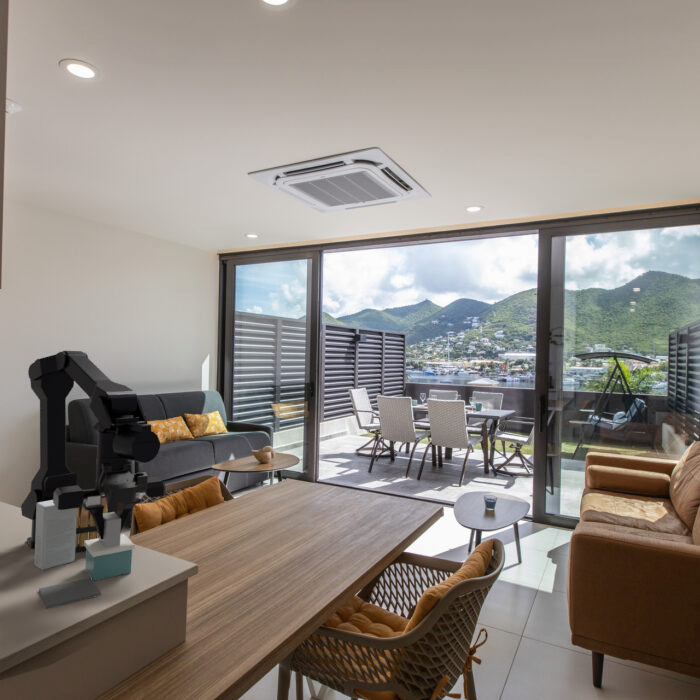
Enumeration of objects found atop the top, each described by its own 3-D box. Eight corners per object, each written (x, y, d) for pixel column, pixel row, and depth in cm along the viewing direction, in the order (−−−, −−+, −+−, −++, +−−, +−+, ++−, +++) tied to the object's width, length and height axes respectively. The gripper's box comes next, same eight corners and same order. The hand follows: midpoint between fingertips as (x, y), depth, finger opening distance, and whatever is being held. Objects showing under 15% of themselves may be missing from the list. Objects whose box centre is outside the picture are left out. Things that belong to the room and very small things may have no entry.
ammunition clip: (48, 557, 101) (51, 497, 101) (48, 553, 102) (51, 494, 103) (107, 548, 106) (109, 492, 106) (106, 545, 108) (109, 489, 108)
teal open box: (85, 568, 96) (86, 545, 96) (121, 561, 100) (122, 538, 100) (93, 581, 91) (94, 556, 91) (130, 572, 95) (132, 548, 95)
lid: (84, 544, 96) (85, 514, 96) (123, 537, 100) (125, 508, 101) (92, 557, 90) (94, 524, 91) (134, 548, 95) (136, 518, 95)
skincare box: (66, 555, 102) (69, 496, 102) (75, 561, 99) (78, 500, 99) (32, 564, 97) (35, 502, 97) (41, 570, 94) (44, 506, 95)
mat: (39, 590, 86) (39, 588, 86) (90, 579, 91) (90, 577, 91) (46, 608, 81) (46, 606, 81) (100, 595, 86) (100, 593, 86)
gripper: (66, 468, 84) (61, 562, 83) (177, 458, 95) (173, 540, 95) (54, 456, 92) (50, 542, 92) (157, 448, 104) (154, 524, 104)
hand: (109, 537), depth 95 cm, fingers closed on lid, 2 cm apart
